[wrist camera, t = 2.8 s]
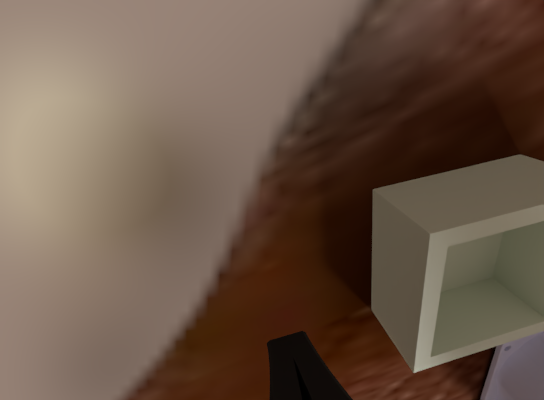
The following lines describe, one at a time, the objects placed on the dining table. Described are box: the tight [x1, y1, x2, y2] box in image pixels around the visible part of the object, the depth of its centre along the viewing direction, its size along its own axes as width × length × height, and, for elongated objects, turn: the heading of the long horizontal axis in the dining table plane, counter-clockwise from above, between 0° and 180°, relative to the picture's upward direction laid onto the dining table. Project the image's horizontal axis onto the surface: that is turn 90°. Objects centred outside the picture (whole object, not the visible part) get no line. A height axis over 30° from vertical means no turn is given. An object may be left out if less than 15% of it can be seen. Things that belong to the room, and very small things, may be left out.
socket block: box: [371, 154, 544, 373], centre depth 14 cm, size 8×8×4 cm
